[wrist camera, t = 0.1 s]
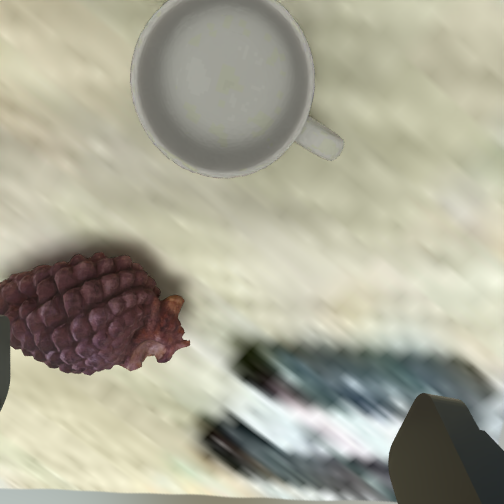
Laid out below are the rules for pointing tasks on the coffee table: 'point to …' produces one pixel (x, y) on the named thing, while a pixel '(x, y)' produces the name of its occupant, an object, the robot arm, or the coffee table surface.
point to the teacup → (227, 86)
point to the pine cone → (91, 315)
